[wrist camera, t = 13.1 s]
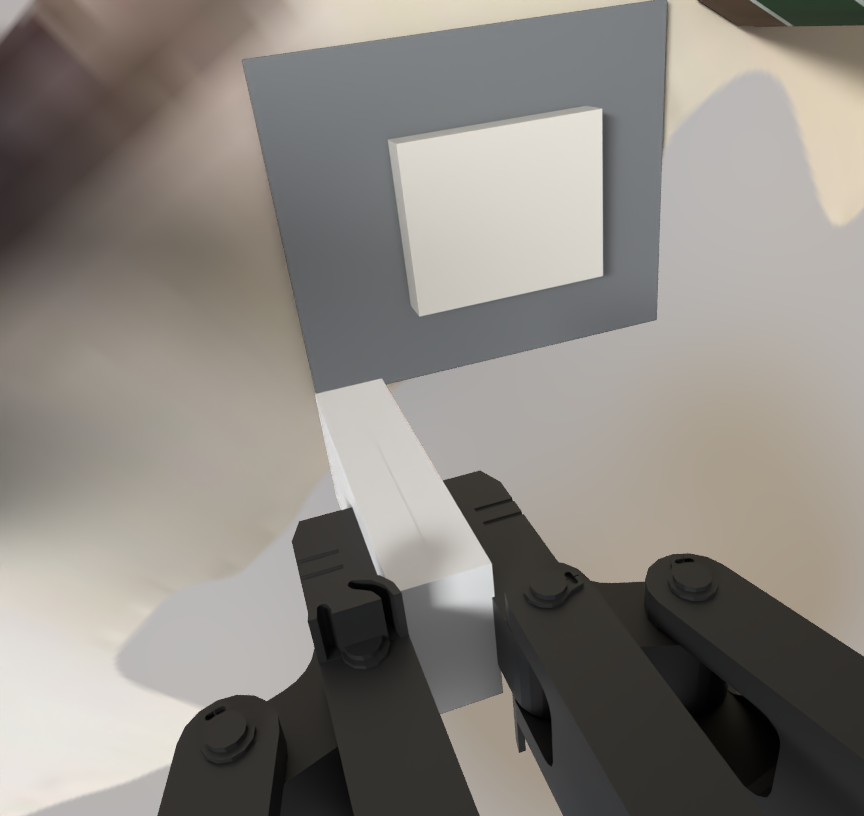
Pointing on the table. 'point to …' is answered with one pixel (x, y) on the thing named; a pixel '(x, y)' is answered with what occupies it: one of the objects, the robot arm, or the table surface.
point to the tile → (500, 207)
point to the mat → (440, 110)
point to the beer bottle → (790, 12)
